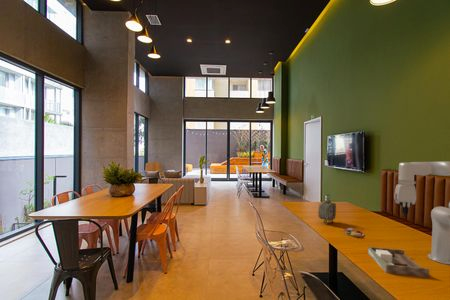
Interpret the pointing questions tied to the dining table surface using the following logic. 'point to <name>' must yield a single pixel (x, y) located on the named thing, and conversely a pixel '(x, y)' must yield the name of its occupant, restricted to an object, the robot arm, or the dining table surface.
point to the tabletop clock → (327, 210)
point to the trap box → (398, 263)
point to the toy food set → (353, 232)
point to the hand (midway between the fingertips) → (404, 213)
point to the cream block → (384, 255)
